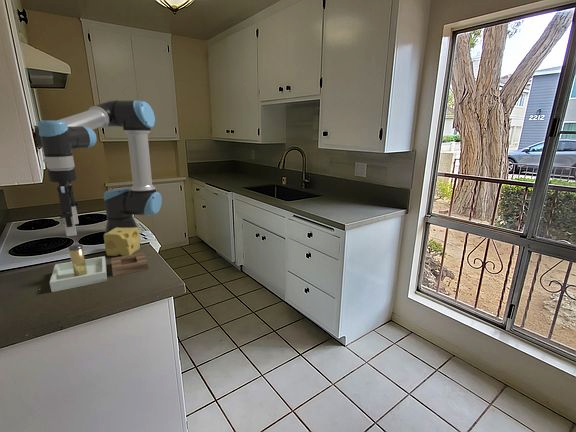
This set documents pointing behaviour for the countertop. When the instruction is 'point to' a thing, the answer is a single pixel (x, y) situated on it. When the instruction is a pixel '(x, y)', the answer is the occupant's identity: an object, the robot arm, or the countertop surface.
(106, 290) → the countertop surface
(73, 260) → the brown and black cylinder
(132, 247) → the cheese
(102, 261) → the tray
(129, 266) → the pin block
